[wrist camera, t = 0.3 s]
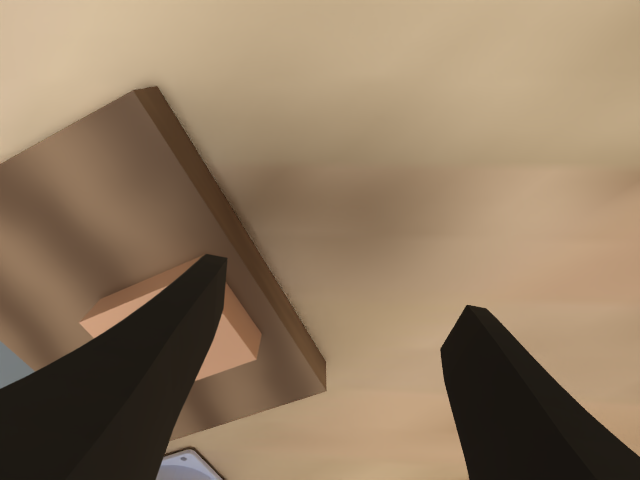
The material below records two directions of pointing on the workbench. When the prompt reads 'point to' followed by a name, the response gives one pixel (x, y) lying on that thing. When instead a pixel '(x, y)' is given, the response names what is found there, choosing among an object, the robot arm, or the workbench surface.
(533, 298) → the workbench surface
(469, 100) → the workbench surface
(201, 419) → the deck
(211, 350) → the tile
